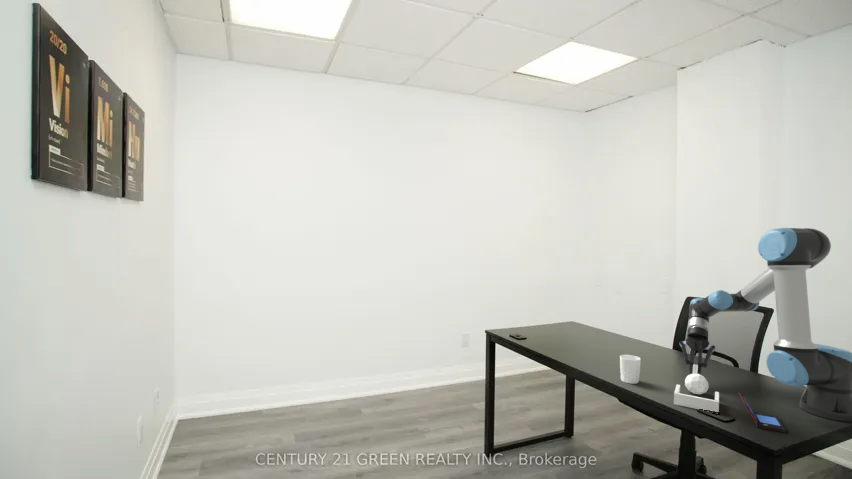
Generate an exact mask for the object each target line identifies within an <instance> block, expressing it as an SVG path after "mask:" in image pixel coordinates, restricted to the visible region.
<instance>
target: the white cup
mask: <svg viewBox="0 0 852 479" xmlns="http://www.w3.org/2000/svg"><path fill="white" fill-rule="evenodd" d="M641 362H642V361H641V357H639V356H636V355H633V354H632V355H631V354H620V355H619V369H620V371H619V372H620V380H621V382H623V383H627V384H630V385H631V384H632V385H633V384H634V385H635V384H638V383H639V381H640V373H641Z"/></svg>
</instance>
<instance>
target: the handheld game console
mask: <svg viewBox="0 0 852 479" xmlns="http://www.w3.org/2000/svg"><path fill="white" fill-rule="evenodd" d="M738 394H739V396H740V398H741V400H742V402H743V404H744V406H745V407H746V409H747V411H748V412H749V415H750V416H751V418H752V420H753V421H754V424H755V426H756V428H758V429H763V430H769V431H774V432H778V433H786V431H787V429H786V427H785V426H784V423H782V421H781V420H780V418H779V417H778V416H777V415H773V414H769V413H763V412H758V411H757V412H756V411H754V410H753V409H752V408H751V407H750V405H749V404H748V402H747V401H746V399H745V397H744V395H742V393H741V392H738Z"/></svg>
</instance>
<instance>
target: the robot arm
mask: <svg viewBox="0 0 852 479" xmlns="http://www.w3.org/2000/svg"><path fill="white" fill-rule="evenodd" d="M831 247H832V244H831V241H830V239H829V237H828V235H827V234H825V233H824V232H822V231H820V230H819V229H816V228H810V227H809V228H798V227H797V228H796V227H781V228H773V229H770V230H767V231H766V232H765V233H764V234H763V235H762V236H761V237H760V238H759V240H758V243H757V251H758V252H757V253H759V255H760V256H761V258H762V259H764V260H765V261H767V269H766V270H764V271H763V272H762V273H761V274H759V275H758V276H757V277H756V278H754V279H753V280H752V281H751V282H749V283H748V284H747V285H746V286H744V287H743V288H741V289H740V290H739V291H738V292H735V293H730V292H728V291H725V290H722V289H721V290H716V291H714V292H711V293H710V294H709V295H708V296H706V297H704V298H703V297H697V298H693V299H691V300H690V304H689V308H688V309H689V310H688V311H689V312H688V323H687V334H686V338H685V340H679V346H680V348H681V350H682V354H683V359H684V364H685V365H687V366H688V365H689V373H690V374H700V375H702V368H707V367H708V365H709V362H710V359H711V357H712V355H713V353H714V352H716V345H713V344H710V341H709V329H710V318H711V317H713V316H714V315H717V314H719V313H723V312H724V313H725V312H728V313H730V312H746V313H747V312H751V311H752V312H753V311H755V310H757V309H758V308H759V305H760V302H761V301H762V300H764V299H765V298H767V297H768V296H769V295H771V294H772V293H774V296H775V297H774V298H775V309H776V321H777V334H778V339H777V340H776V341H774V342H773V351H770V353H769V354H768V355H767V356H766V360H765V361H766V368H767V369H768V370H767V371H769V373H770V374H771V376H772V377H773V378H774V379H775V380H776V381H778V382H779V383H781V384H782V385H785V386H791V387H792V386H793V387H795V386H796V387H805V389H804V391H803V393H802V395H801V397H800V399H799V408H800V409H802V410H804V411H805V412H807V413H808V414H809V413H810V414H812V415H815V416H818V417H821V418H824V419H829V420H833V421H839V422H847V423H848V422H850V423H852V351H849V350H847V349H843V348H838V347H835V346H830V345H824V344H818V343H814V342H813V341H812V332H811V319H810V308H809V297H808V296H809V295H808V293H809V292H808V283H807V282H808V281H807V270H808V269H809V270H810V269H812V268H814V267H815V266H817V265H819V264H820V263H821V262H822V261H823V260H825V258H827V256H828V255H829V254H830V251H831V249H832V248H831ZM687 346H688V347H689V348H690V358H689V357H688V352H687V348H686V347H687ZM706 349H707V352H706V355H705V357H704V360H703V351H704V350H706ZM696 351H697V352H698V353H697V354H698V355H697V364H695V354H696ZM689 359H690V360H689Z"/></svg>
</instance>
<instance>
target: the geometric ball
mask: <svg viewBox="0 0 852 479" xmlns="http://www.w3.org/2000/svg"><path fill="white" fill-rule="evenodd" d="M684 386H685V387H686V389H687V390H688V391H689V392H691V393H692V394H694V395H703V394H706V393H707V391H708V390H709V388H710V387H709V381H708V380H707V378H706V377H705V376H704V375H702V374H701V375H700V374H693V373H690V374H688V375H687V376H686V377H685V379H684Z"/></svg>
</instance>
